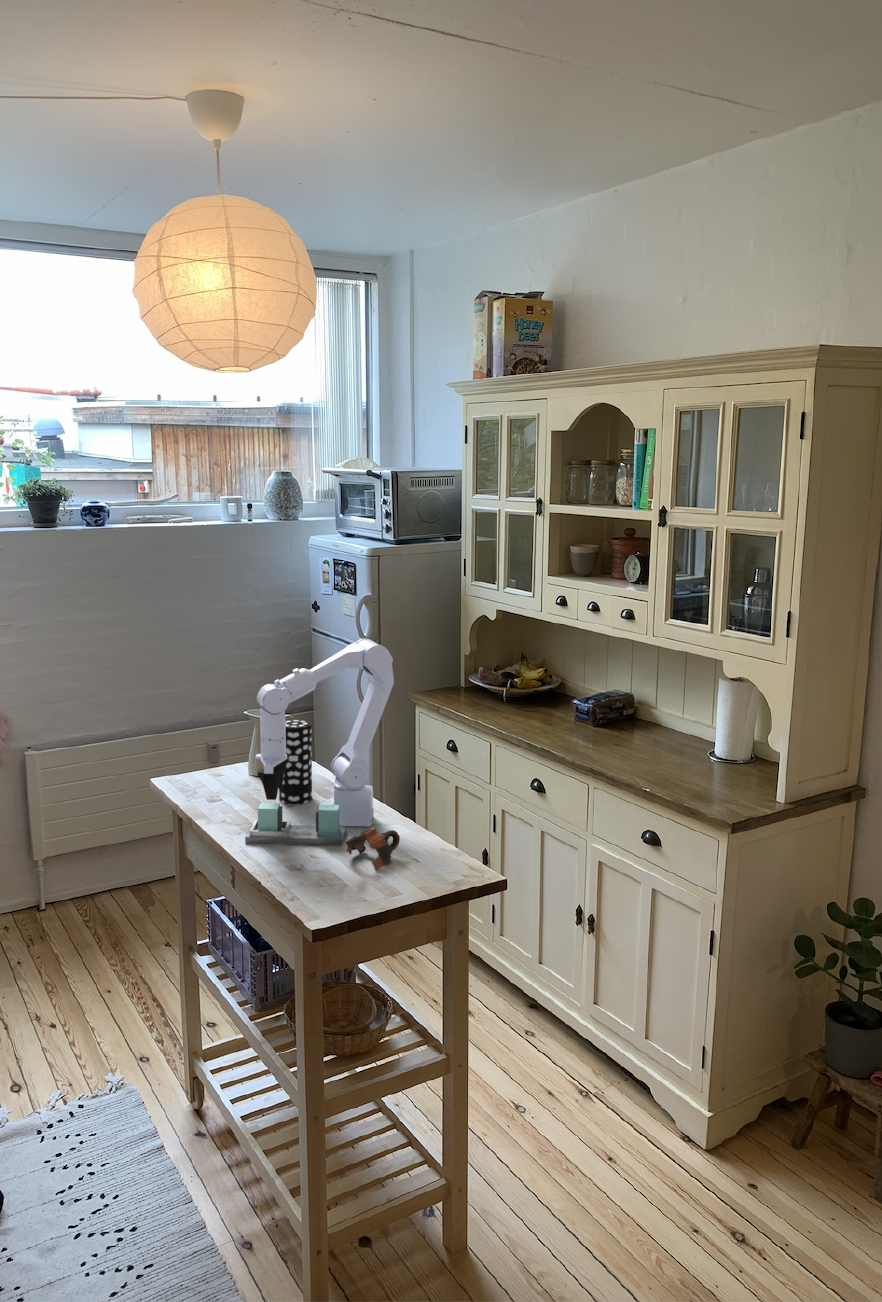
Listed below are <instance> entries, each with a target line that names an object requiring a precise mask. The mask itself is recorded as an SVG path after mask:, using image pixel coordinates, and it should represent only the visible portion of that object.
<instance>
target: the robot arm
mask: <svg viewBox="0 0 882 1302" xmlns="http://www.w3.org/2000/svg"><path fill="white" fill-rule="evenodd" d="M393 662H394V659H393V656H392V655H391V653H390V651H389V649H387V647H385V646H383V645H381V644H378V643H376V642H375V641H373V640H372V639H370V638H360V639H358V640H357V641H356V642H353V643H350V644H348V645H347V646H346V647H344V649H342V650H340V651H338V652H336V653H335V654H333V655H332V656H330V657H329V658H327V659H324V661H322V662H321V663H319V664H317V665H316V666H314V667H312V668H311V669H307V668H305V667H304V668H303V667H302V668H294V669H292V673H290V674H289V675H287V676H285V677H283V678H281V679H279V678H278V679H275V680H274V683H268V684H265V685H263V686H262V687H261V688H259V689H260V690H259V691H258V693H257V695H256V696H255V699H256V702H257V703H258V705H259V706H260V707H259V708H260V709H259V711H260V712H259V713H260V717H259V726H260V727H259V729H260V730H259V733H260V753H257V754H256V755H255V760H260V761H261V763H262V765H263V768H258V770H257V776H258V778H259V780H260V781H261V783H262V786H263V790H264V795H265V797H266V800H267V801H268V800H269V801H276V800H277V797H278V794H279V788H281V787H282V783H283V777H284V771H285V768H286V765H287V762H288V760H289V757H288V756H287V754H286V722H285V720H286V710H287V708H288V706H289V705H290V704H291V703H293V702H295V701H296V700H299V699H300V698H302V697H304V696H306V695H308V694H309V693H311V692H312V691H314V690H315V689H316V687H317V684H318V682H321V681H323V680H324V679H327V678H329V677H331V676H334V675H335V674H337V673H339V672H342V671H344V670H346V669H348V668H351V669H357V670H364V673H365V675H366V676H367V678H368V680H369V685H368V686H367V690H366V693H365V695H364V698H363V700H362V704H361V706H360V709H359V711H358V714H357V717H356V718H355V719H356V720H355V722H354V724H353V727H352V729H351V733H350V735H349V738H348V740H347V743H344V745H343V746H341V748H340V749H339V750H340V751H339V752H338V753H337V755H336V756H335V757H334V758H333V760H331V764H330V771H331V773H332V774H333V776H334V777H335V780H334V783H333V805H340V826H346V827H368V828H370V827H371V826H372V821H373V816H374V812H375V810H374V807H373V806H374V803H373V802H374V788H373V786H372V785H367V784H366V783H367V781H368V776H369V775H368V774H369V773H368V768H369V765H370V757H369V750H370V747H371V744H372V742H373V739H374V737H375V734H376V732H377V729H378V727H379V723H380V721H381V718H382V715H383V713H384V710H385V708H386V705H387V703H388V699H389V697H390V695H391V691H392V689H393V687H394V683H395V680H394V679H395V678H394V670H393Z"/></svg>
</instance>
